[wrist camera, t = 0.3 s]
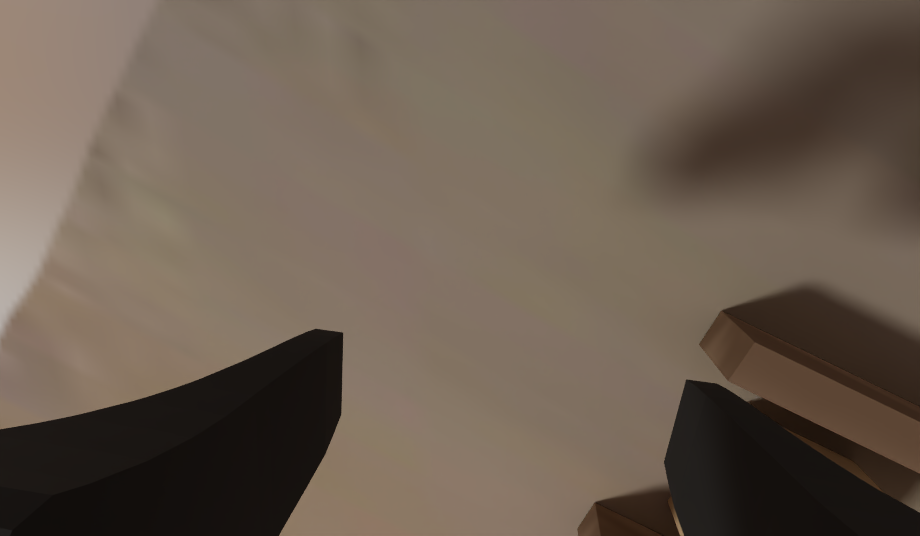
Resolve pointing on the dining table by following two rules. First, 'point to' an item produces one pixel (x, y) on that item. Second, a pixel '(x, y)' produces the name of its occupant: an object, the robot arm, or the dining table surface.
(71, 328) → the dining table surface
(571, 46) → the dining table surface
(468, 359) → the dining table surface
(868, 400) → the walnut channel
